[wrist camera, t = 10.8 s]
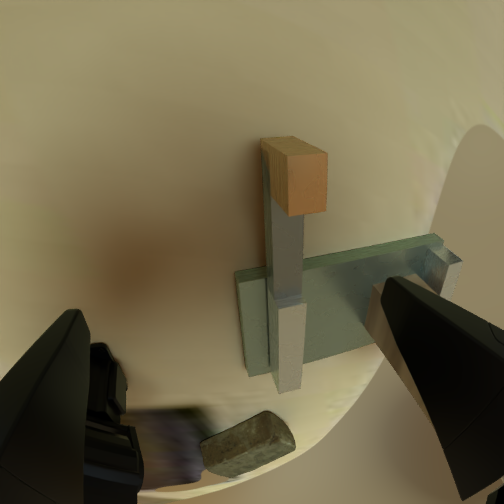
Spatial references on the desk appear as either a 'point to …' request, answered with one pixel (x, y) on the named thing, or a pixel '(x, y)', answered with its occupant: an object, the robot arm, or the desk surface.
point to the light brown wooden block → (288, 246)
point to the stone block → (247, 446)
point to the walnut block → (385, 340)
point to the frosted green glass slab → (340, 295)
